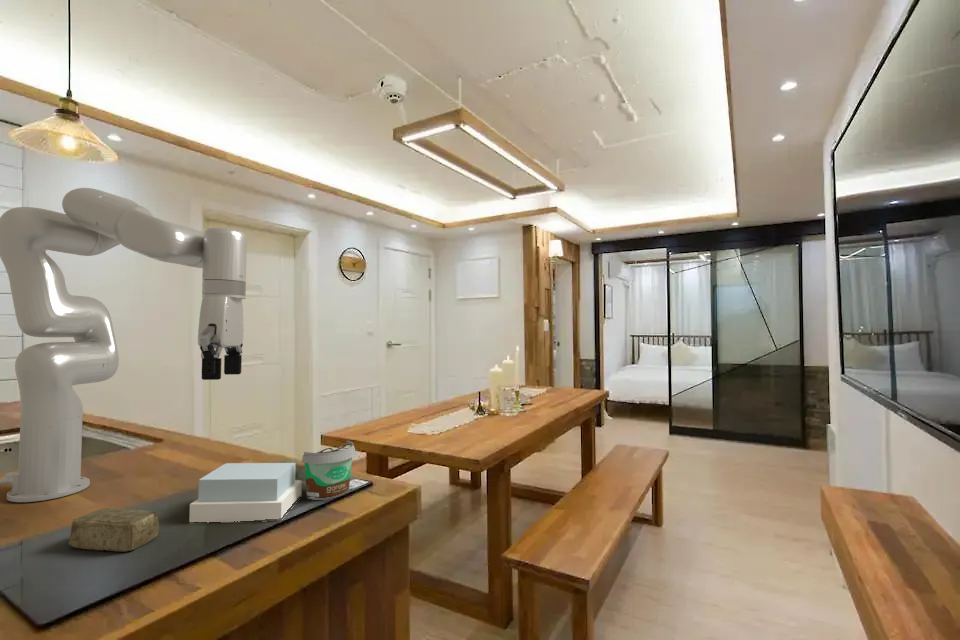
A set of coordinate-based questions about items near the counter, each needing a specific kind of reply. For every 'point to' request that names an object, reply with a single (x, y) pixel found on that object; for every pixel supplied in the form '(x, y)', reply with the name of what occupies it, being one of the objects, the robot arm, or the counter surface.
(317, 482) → the food container
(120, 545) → the stone block
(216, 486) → the tower top slab
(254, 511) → the tower base slab
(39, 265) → the robot arm
